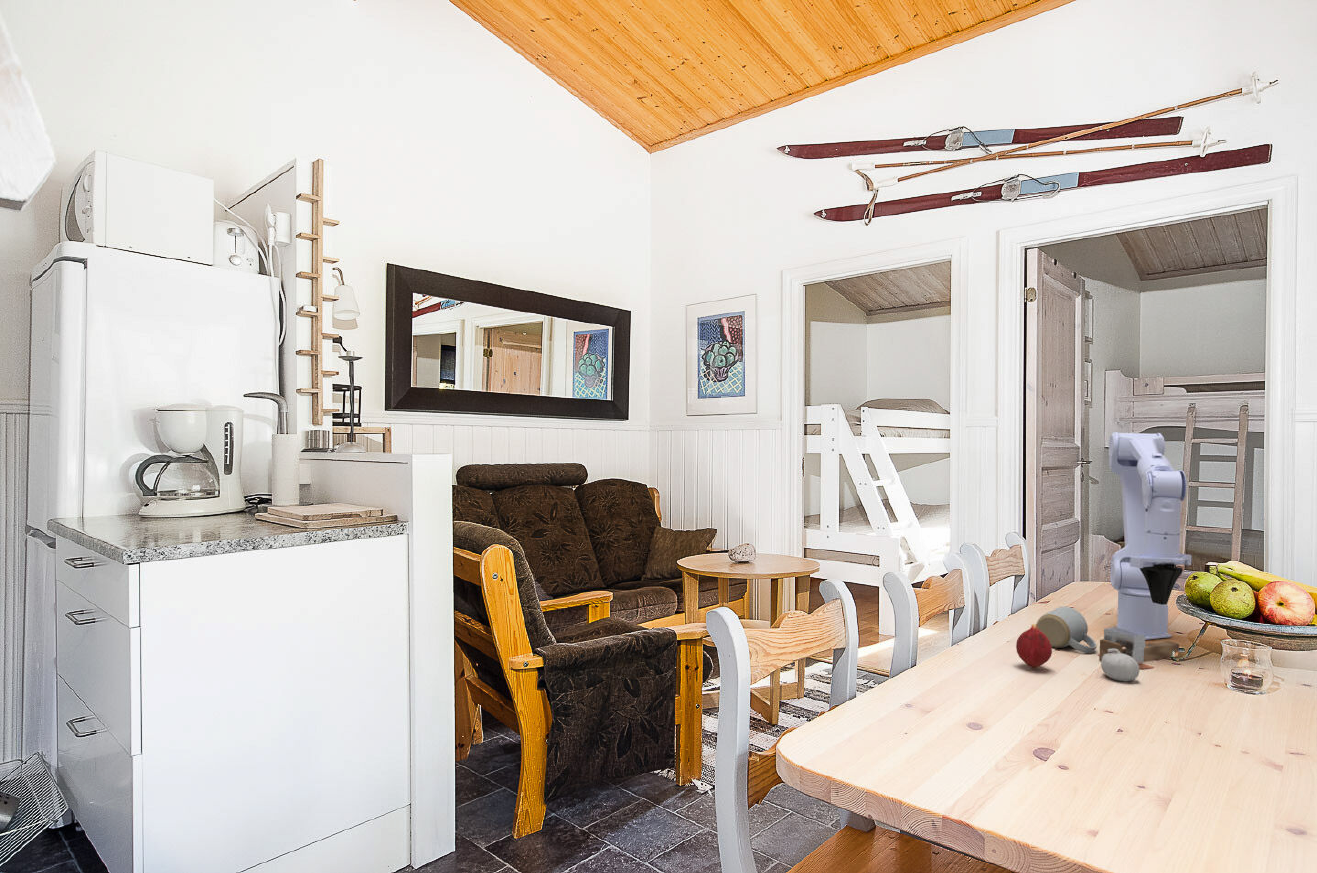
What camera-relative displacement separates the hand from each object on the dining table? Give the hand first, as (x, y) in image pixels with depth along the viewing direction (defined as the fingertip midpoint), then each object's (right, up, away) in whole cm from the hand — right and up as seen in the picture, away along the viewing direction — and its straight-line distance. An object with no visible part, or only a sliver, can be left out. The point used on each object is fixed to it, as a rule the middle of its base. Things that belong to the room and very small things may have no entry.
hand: (1159, 603), depth 146 cm
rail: (-4, -10, -1) cm, 11 cm away
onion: (-29, -10, -9) cm, 32 cm away
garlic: (-16, -10, -14) cm, 24 cm away
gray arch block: (-9, -10, -3) cm, 14 cm away
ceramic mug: (-15, -10, +6) cm, 19 cm away
